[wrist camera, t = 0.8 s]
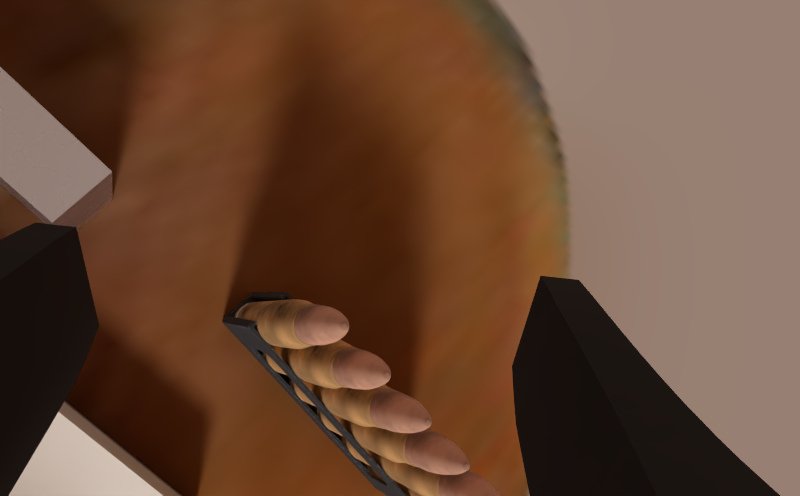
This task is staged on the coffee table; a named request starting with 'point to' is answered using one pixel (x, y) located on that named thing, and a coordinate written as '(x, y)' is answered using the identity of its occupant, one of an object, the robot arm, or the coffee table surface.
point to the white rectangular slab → (85, 464)
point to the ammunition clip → (352, 397)
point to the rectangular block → (47, 162)
